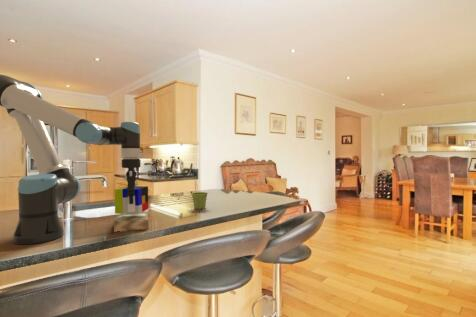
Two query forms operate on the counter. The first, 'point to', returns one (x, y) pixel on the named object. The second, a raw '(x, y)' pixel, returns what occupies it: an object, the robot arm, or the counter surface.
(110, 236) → the counter surface
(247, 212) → the counter surface
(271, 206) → the counter surface
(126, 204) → the puzzle toy
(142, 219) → the plinth
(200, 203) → the plant pot
